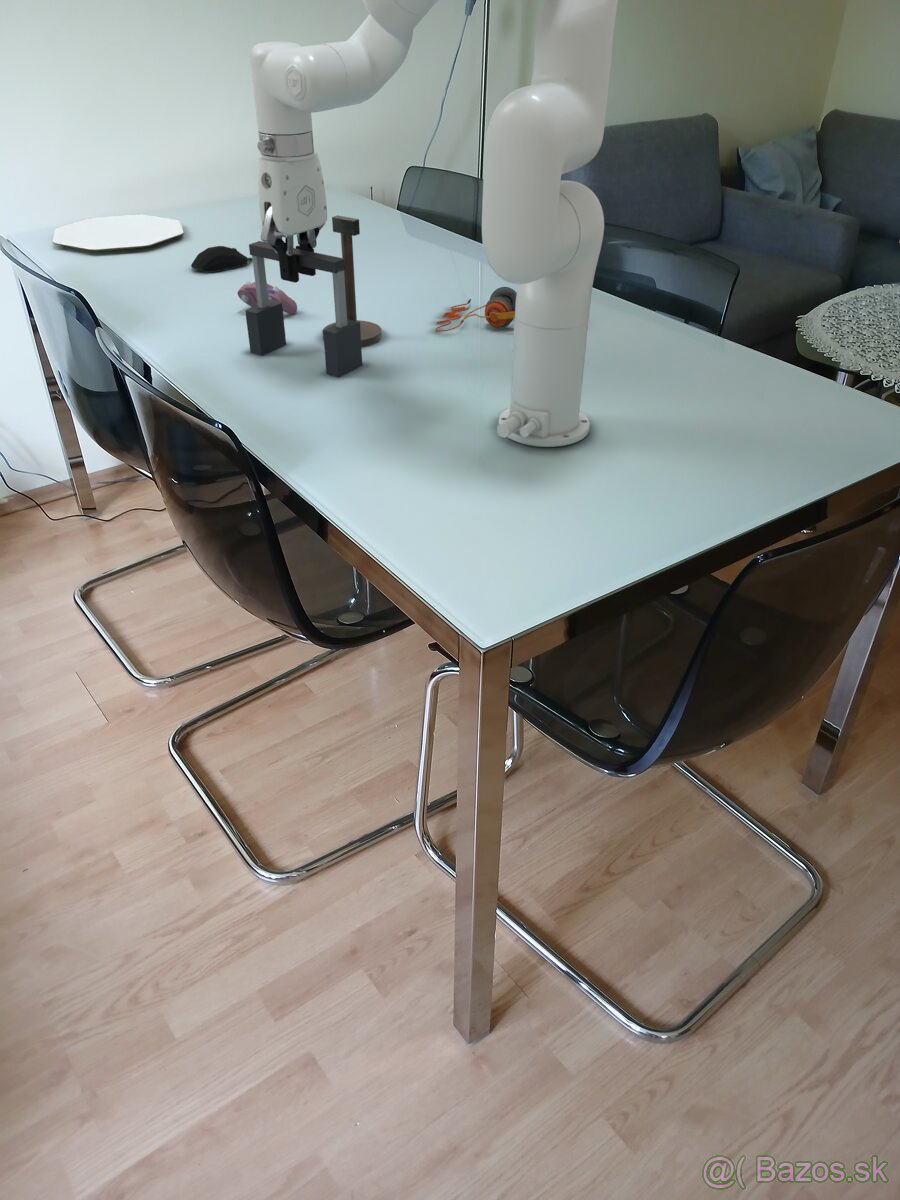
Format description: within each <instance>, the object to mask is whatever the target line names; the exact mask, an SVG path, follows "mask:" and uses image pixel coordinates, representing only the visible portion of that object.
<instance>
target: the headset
mask: <svg viewBox="0 0 900 1200" xmlns="http://www.w3.org/2000/svg"><path fill="white" fill-rule="evenodd" d="M248 249H249V250H248V251H249V255H250V256H251V258H252V259H253V260H252V267H253V274H254V275H253V276H254V282H255V285H256V293H257V301H258V305H257V306H255V307H249V308H247V309H244V312H245V320H246V327H247V328H246V329H247V333H248V334H247V336H248V343H249V351H250V352H249V353H250V354H254V355H258V356H261V357H262V356H264V355H267V354H269V353H271V352H273V351H276V350H278V349H280V348H282V347H284V346H286V345H287V338H286V329H285V319H284V311H283V308H282V303H280V302H276V301H272V300H270V301H269V299H268V290H267V284H268V282H267V274H266V264H265V263H266V262H265V259H266V260H272V261H276V262H279V256H278V253H275V250H274V248H273V247H272V246H271V245H270V244H267V243H265V242H263V241H261V240H258V241H255V242H252V243H248ZM293 254H295V255H297V261H298V265H299V266H303V267H308V268H312V269H316V271H317V270H318V271H323V272H327V273H331V274H332V286H333V287H332V288H333V303H334V313H335V314H334V316H335V322H336V324H335V325H333V326H331V327H329V328H327V329H324V328H323V329H324V330H323V329H322V331H323V333H322V337H323V336H324V340H323V347H324V359H325V360H324V361H325V372H326V375H329V376H333V377H336V378H341V377H343V376H344V375H346V374H348V373H350V372H353V371H354V370H356V369H358V368H360V367H362V366H363V350H362V349H363V347H361V330H360V322H358V321H354V320H350V319H347V311H346V295H345V279H344V270H346V266H345V259H344V258H342V257H339V256H334V255H330V254H324V253H319V252H315V251H314V252H310V251H305V250H300V249H296V247H294V253H293Z"/></svg>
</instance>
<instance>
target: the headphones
mask: <svg viewBox="0 0 900 1200" xmlns="http://www.w3.org/2000/svg"><path fill="white" fill-rule="evenodd" d="M516 295H517V291H516V290H515V289H513V288H511V287H508V286H501V287H500V286H499V287H498V288H496V289H495V290H494V291H493V292H492V293H491V295H490V297H489V300H488V301H487V302H486V304H484V305H482V306H480V307H478V308H474V309H473V310H471V311H470V312H468V313H467V314H466V315H464V317H463V318H462V316H461V315H460V313H459V312H465V311H468V310H469V308H468V307H466V305H470V304H471V301H472V299H471V298H469V299H468V300H467V302H466V303H462V304H457V305H453V306H450V310H451V311H447V312H444V314H443V315H441V317H442V318H447V319H443V320H438V321H436V324H442V325H439V326H437V327H436V328H435V332H441V333H442V332H449V331H452V330H455V329H457V328H459V327H460V326H461V325H462V324H463V323H464V322H465V320H467V319H468V318H470V317H472V316H476V317H478V318H481V319H482V318H484V319H485V320H486V322H487V323H488V324H489V325H490V326H492V327H493V328H505V327H508V326H509V325H510V324H511V323H512V322H513V321H514V320H515V306H516ZM483 308H484V315H479V314H477V313H474V312H475V311H478V310H480V309H483ZM460 318H462V319H461V321H460V323H459V324H458V325H456V326H454V327H451V328H448V329H440V328H442V327H446V326H448V325H451V324H452V321H454V320H458V319H460Z"/></svg>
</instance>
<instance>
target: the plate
mask: <svg viewBox="0 0 900 1200" xmlns="http://www.w3.org/2000/svg"><path fill="white" fill-rule="evenodd" d="M184 234H185V233H184V229H183V225H182V222H181V220H179V219H175V218H169V217H161V216H155V215H150V214H149V215H148V214H127V215H126V214H125V215H111V216H98V217H97V216H96V217H90V218H87V219H84V220H79V221H75V222H73V223H70V224H66V225H63V226H60V227H59V226H58V227H57V228H55V229H54V230H53V237H52V243H53V244H54V245H57V246H61V247H67V248H72V249H76V250H77V249H78V250H82V251H89V252H100V251H101V252H102V251H115V250H128V249H140V248H141V249H142V248H149V247H153V246H156V245H158V244H162V243H164V242H168V241H169V240H172V239H175V238H176V239H177V238H178V237H181V236H182V235H184Z"/></svg>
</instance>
